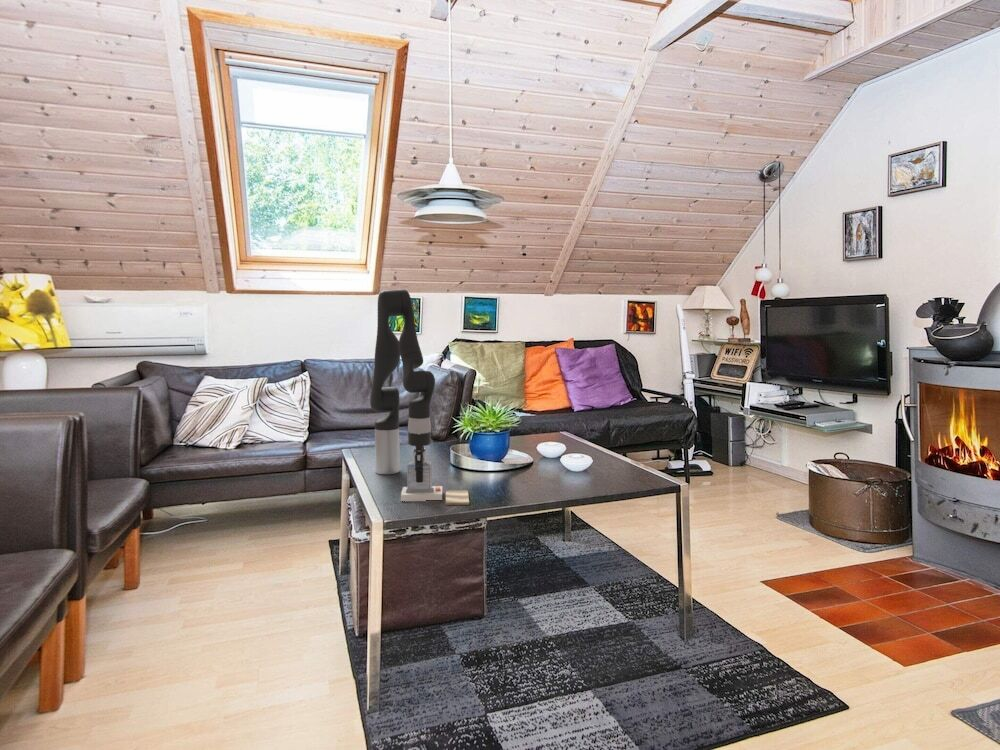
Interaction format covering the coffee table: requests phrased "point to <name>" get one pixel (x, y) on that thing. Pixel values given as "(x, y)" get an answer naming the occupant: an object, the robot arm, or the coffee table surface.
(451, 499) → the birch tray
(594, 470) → the coffee table surface
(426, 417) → the robot arm
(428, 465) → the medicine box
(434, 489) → the power strip
